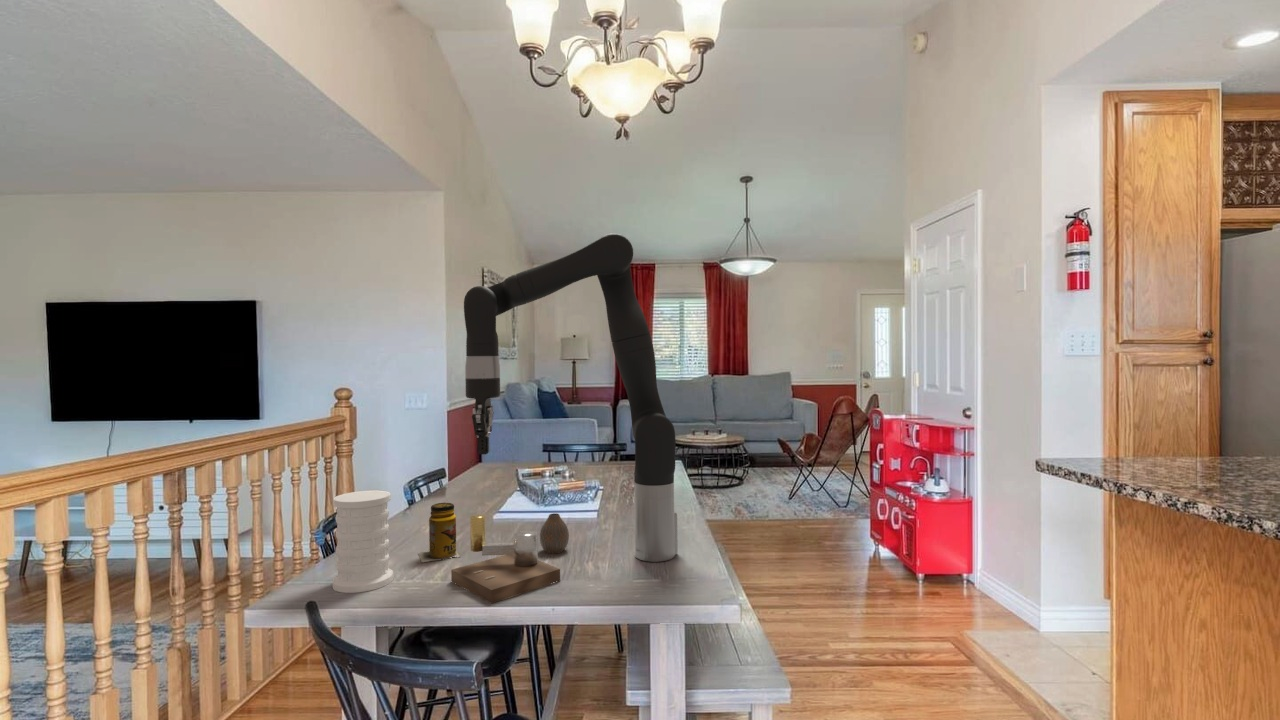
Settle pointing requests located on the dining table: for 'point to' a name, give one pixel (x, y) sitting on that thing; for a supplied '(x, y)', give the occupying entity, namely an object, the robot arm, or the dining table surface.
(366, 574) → the decorative container
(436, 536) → the condiment
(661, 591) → the dining table surface
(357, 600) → the dining table surface
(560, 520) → the vase
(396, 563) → the dining table surface
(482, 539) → the crank handle
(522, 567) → the stand
